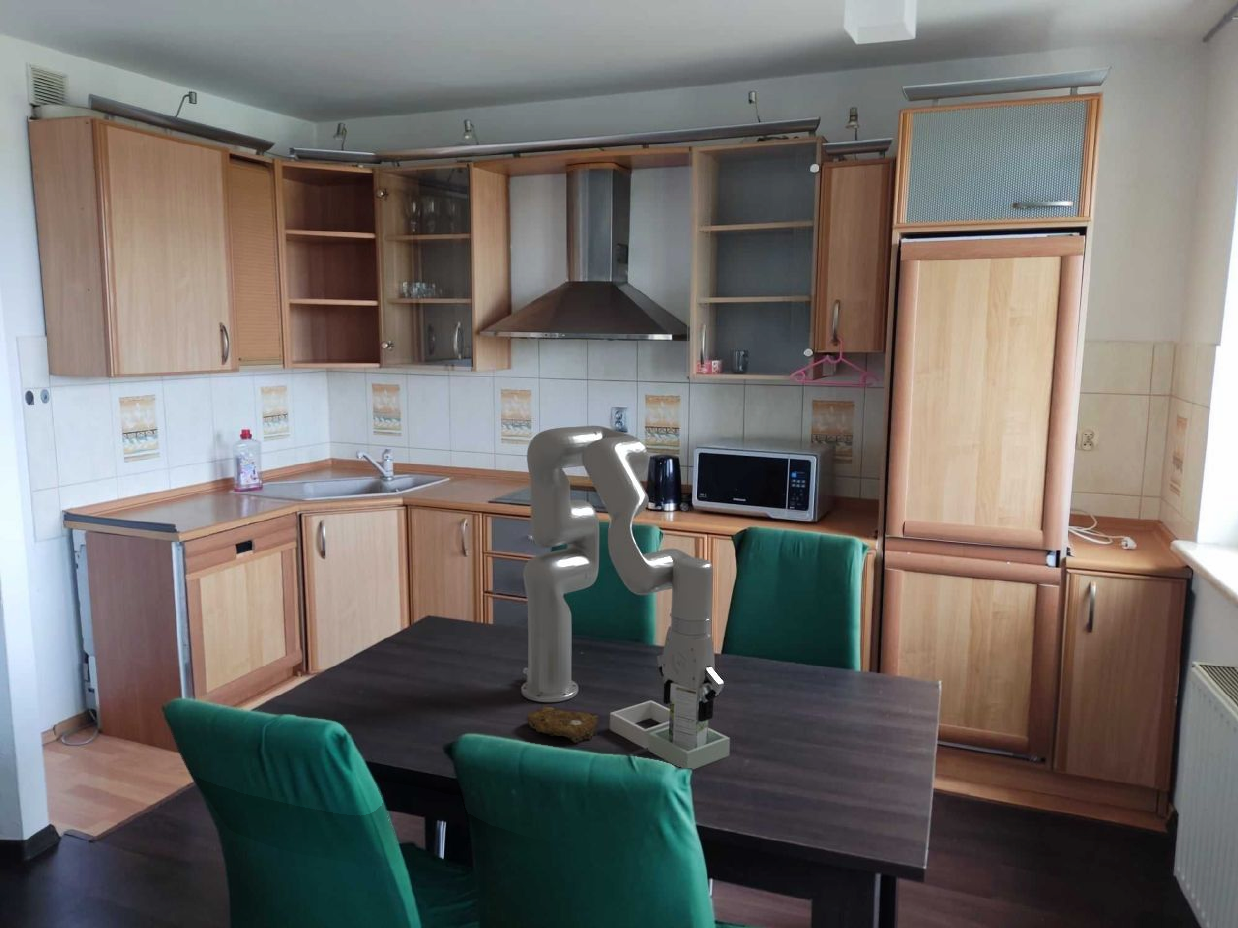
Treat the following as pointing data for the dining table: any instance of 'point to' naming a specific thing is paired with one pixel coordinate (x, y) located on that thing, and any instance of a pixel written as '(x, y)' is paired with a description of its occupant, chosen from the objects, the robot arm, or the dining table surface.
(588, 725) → the decorative rock
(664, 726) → the bin
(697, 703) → the syrup box
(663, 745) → the bin
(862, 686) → the dining table surface
